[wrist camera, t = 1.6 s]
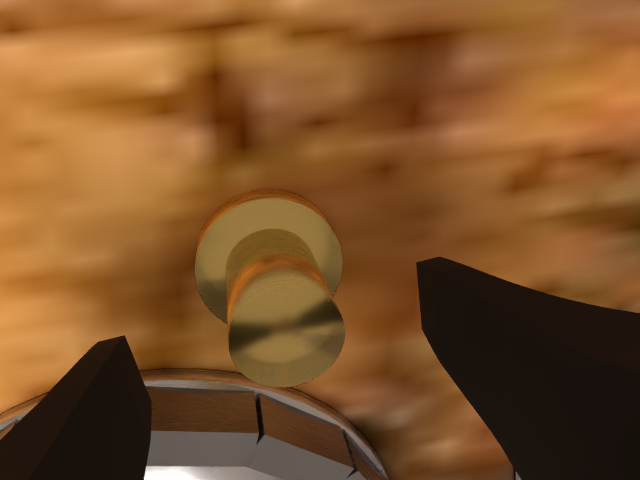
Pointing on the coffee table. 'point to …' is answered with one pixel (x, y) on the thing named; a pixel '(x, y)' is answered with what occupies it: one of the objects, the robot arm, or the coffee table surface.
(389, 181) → the coffee table surface
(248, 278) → the gear
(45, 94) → the coffee table surface
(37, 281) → the coffee table surface
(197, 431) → the carrier
